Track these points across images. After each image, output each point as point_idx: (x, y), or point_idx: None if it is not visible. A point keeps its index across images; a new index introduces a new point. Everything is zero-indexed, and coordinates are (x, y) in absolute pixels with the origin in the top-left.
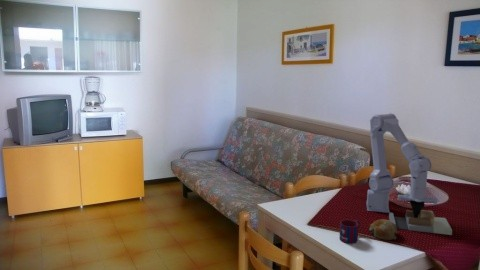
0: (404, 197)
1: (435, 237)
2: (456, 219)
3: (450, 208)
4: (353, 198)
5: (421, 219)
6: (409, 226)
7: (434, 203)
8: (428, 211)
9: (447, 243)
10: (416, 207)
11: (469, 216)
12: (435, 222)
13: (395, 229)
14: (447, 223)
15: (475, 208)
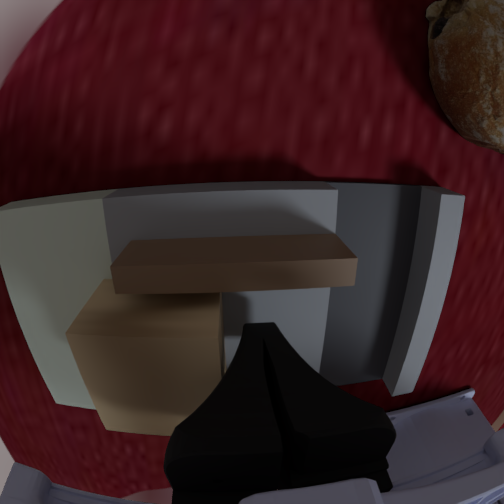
0: (497, 482)
1: (112, 101)
2: (36, 417)
3: (86, 488)
4: None
5: (213, 261)
6: (330, 187)
7: (36, 474)
8: (135, 416)
9: (53, 35)
10: (293, 407)
11: (12, 438)
12: None
13: (471, 16)
14: (26, 331)
15: None
